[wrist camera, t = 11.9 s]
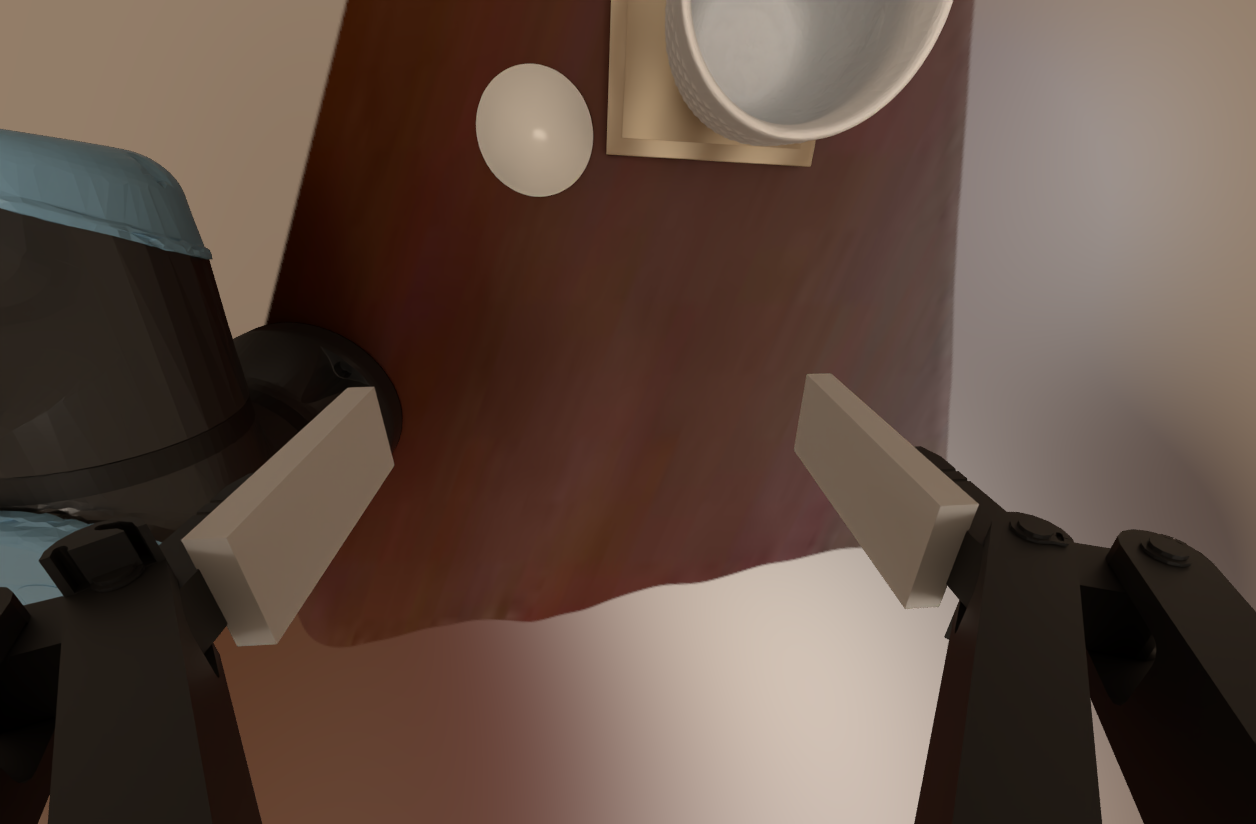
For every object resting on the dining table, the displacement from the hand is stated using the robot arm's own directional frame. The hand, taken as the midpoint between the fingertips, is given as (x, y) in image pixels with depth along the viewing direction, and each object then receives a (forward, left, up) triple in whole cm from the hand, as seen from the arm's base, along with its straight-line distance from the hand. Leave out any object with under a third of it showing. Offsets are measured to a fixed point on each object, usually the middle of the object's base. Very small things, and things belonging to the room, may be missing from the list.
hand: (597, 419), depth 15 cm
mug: (+7, +15, -24) cm, 29 cm away
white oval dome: (-5, +9, -27) cm, 29 cm away
